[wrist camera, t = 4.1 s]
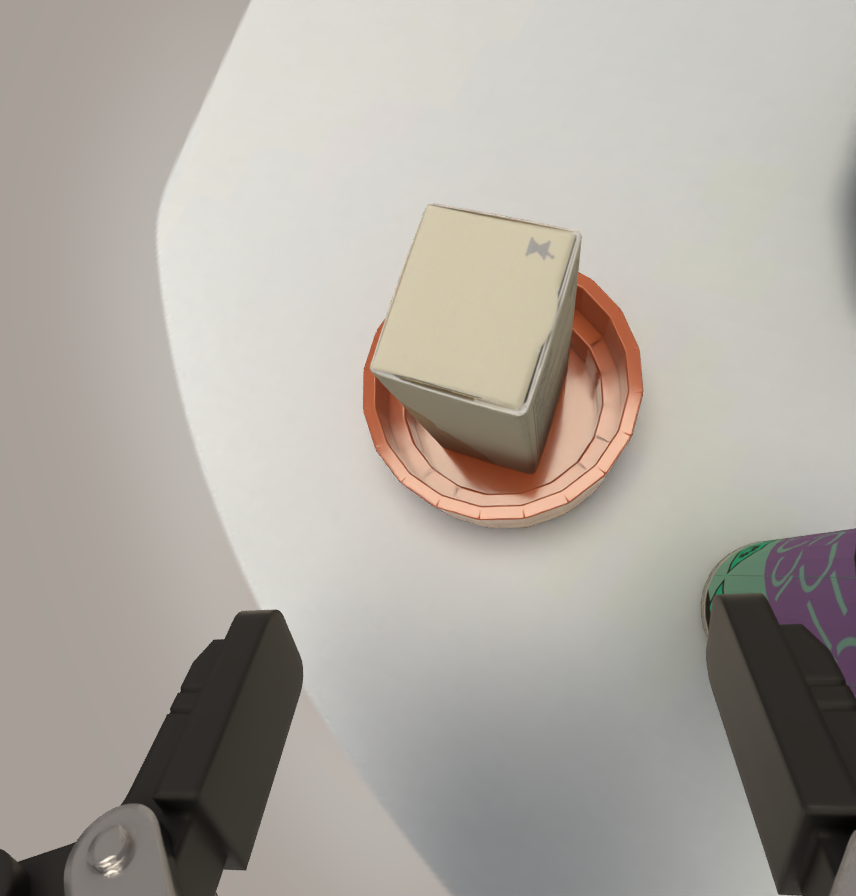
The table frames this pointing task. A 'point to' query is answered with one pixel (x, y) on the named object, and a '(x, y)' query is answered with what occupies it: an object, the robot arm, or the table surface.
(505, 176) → the table surface
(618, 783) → the table surface
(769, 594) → the spray can
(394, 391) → the box
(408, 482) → the bowl
